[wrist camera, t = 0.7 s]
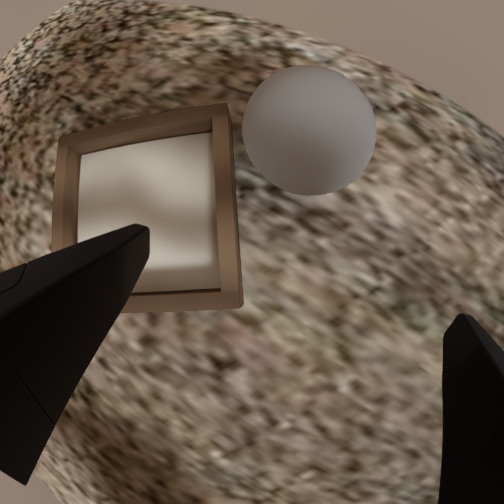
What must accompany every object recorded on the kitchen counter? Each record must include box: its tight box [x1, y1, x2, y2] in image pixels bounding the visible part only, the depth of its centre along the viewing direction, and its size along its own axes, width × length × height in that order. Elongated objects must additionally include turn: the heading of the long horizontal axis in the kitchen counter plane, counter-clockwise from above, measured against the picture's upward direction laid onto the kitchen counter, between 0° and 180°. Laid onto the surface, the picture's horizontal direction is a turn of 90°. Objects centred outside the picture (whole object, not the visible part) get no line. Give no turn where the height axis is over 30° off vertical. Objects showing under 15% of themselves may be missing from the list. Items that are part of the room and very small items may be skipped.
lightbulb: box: [242, 65, 376, 196], centre depth 16 cm, size 6×6×11 cm
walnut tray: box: [52, 103, 244, 313], centre depth 21 cm, size 13×13×3 cm
